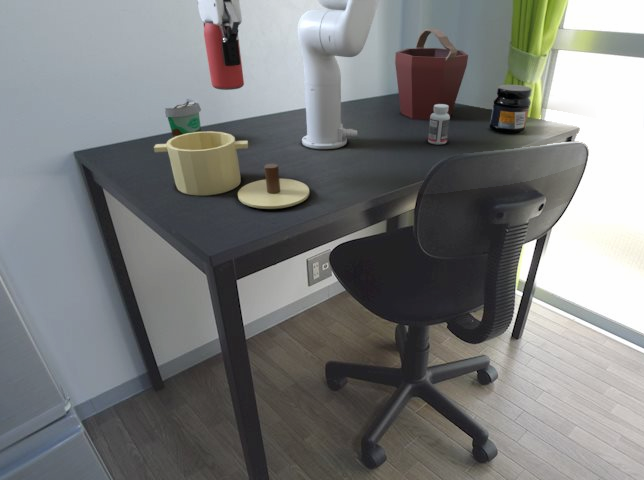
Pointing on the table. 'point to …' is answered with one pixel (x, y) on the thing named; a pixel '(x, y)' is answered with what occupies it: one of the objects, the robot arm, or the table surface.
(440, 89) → the bucket
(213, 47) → the beer can
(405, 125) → the table surface
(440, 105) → the pill bottle
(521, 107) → the supplement container
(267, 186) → the lid
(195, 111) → the food container
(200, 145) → the pot
